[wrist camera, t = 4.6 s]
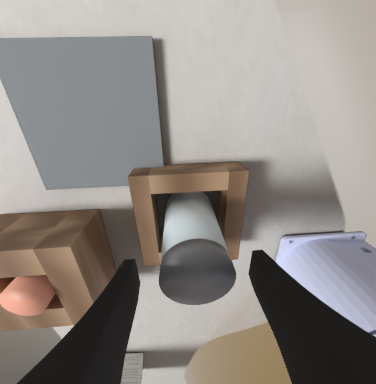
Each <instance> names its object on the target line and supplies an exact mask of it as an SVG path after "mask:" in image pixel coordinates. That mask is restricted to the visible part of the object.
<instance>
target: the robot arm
mask: <svg viewBox="0 0 376 384" xmlns="http://www.w3.org/2000/svg"><path fill="white" fill-rule="evenodd" d="M365 238H366V233H364V232H362V231H357V232H342V233H327V234H311V235H296V236H285V237H283V238H282V239H281V242H280V246H279V250H278V254H277V258H276V262H275V261H274V260H273V259H272V258H271V257H269V256H268V255H267V254H266V253H265V252H264V251H263V250H255V251H253V252H252V258H251V263H250V269H249V276H250V280H251V283H252V286H253V289H254V291H255V294H256V296H257V298H258V300H259V303H260V305H261V307H262V309H263V311H264V313H265V316H266V318H267V320H268V322H269V324H270V327H271V329H272V331H273V333H274V336H275V338H276V340H277V343H278V345H279V348H280V351H281V353H282V356H283V359H284V362H285V365H286V368H287V370H288V373H289V376H290V379H291V382H292V384H376V249H375V248H374V247H372V246H371V245H369V244H368V243H366V242H365V241H364V240H365ZM290 240H291V241H290ZM139 287H140V280H139V275H138V270H137V266H136V261H135V259H129V260H124V261H123V263H122V264H121V266H120V267H119V269H118V270H117V272H116V273H115V275H114V276H113V277H112V279H111V280H110V282H109V283H108V284H107V286H106V287H105V289H104V290H103V291H102V293H101V294H100V295H99V297H98V298H97V299H96V300H95V302H94V303H93V304H92V305H91V307H90V308H89V309H88V310H87V312H86V313H85V314H84V315H83V316H82V318H81V319H80V320H79V321H78V322H77V323H76V324H75V326H74V327H73V328H72V329H71V330H70V331H69V332H68V333H67V334H66V335H65V337H64V338H63V339H62V340H61V341H60V342H59V343H58V344H57V345H56V346H55V347H54V348H53V349H52V350H51V351H50V352H49V353H48V354H47V355H46V356H45V357H44V358H43V359H42V360H41V361H40V362H39V363H38V364H37V365H36V366H35V367H34V368H33V369H32V370H31V371H29V373H27V374H26V375H25V376H24V377H23V378H22V379H21V380H20V381H19V382H18V383H17V384H121V379H122V372H123V366H124V360H125V354H126V349H127V344H128V340H129V336H130V332H131V327H132V323H133V319H134V315H135V311H136V306H137V302H138V295H139Z"/></svg>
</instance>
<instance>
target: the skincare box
mask: <svg viewBox="0 0 376 384" xmlns="http://www.w3.org/2000/svg"><path fill="white" fill-rule="evenodd" d="M143 354H144V353H126V354H125V360H124V366H123V372H122V379H121V384H141V379H142V369H143Z"/></svg>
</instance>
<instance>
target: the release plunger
mask: <svg viewBox="0 0 376 384" xmlns="http://www.w3.org/2000/svg"><path fill="white" fill-rule="evenodd" d="M55 294H56V292H55V290H54V288H53V286H52V285H51V283H50V281H49V279H48V277H47V275H37V276H22V277H16V278H15V279H14V280H13V281H12V282H11V283H10V284H9V285H8V286H7V287H6V288H5V290H4V291H3V292H2V293H1V294H0V305H1V306H2V307H3V308H5V309H6V310H8V311H9V312H12V313H14V314H18V315H23V316H34V315H38V314H41V313H42V312H44V310H45V309H46V308H47V306H48V304H49V303H50V301H51V300H52V298H53V297H54V295H55Z"/></svg>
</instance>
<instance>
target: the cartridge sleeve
mask: <svg viewBox="0 0 376 384" xmlns="http://www.w3.org/2000/svg"><path fill="white" fill-rule="evenodd" d="M248 175H249V170H248V169H246V168H245V167H244V166H243V165H242V164H241V163H239V162H220V163H198V164H176V165H164V167H157V168H135V169H133V170H132V171H131V173H130V174H129V175H128V182H129V187H130V192H131V197H132V203H133V208H134V213H135V219H136V224H137V229H138V235H139V240H140V245H141V251H142V256H143V261H144V266H149V265H160V264H161V254H162V244H163V235H161V233H160V225H159V216H158V208H157V200H156V194H162V193H181V192H200V191H218V190H220V200H219V219H218V224H219V227H220V230H221V233H222V235H223V238H224V241H225V244H226V246H227V249H228V252H229V255H230V257H231V260H235V259H238V255H239V247H240V239H241V231H242V223H243V215H244V207H245V199H246V191H247V183H248Z"/></svg>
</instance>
